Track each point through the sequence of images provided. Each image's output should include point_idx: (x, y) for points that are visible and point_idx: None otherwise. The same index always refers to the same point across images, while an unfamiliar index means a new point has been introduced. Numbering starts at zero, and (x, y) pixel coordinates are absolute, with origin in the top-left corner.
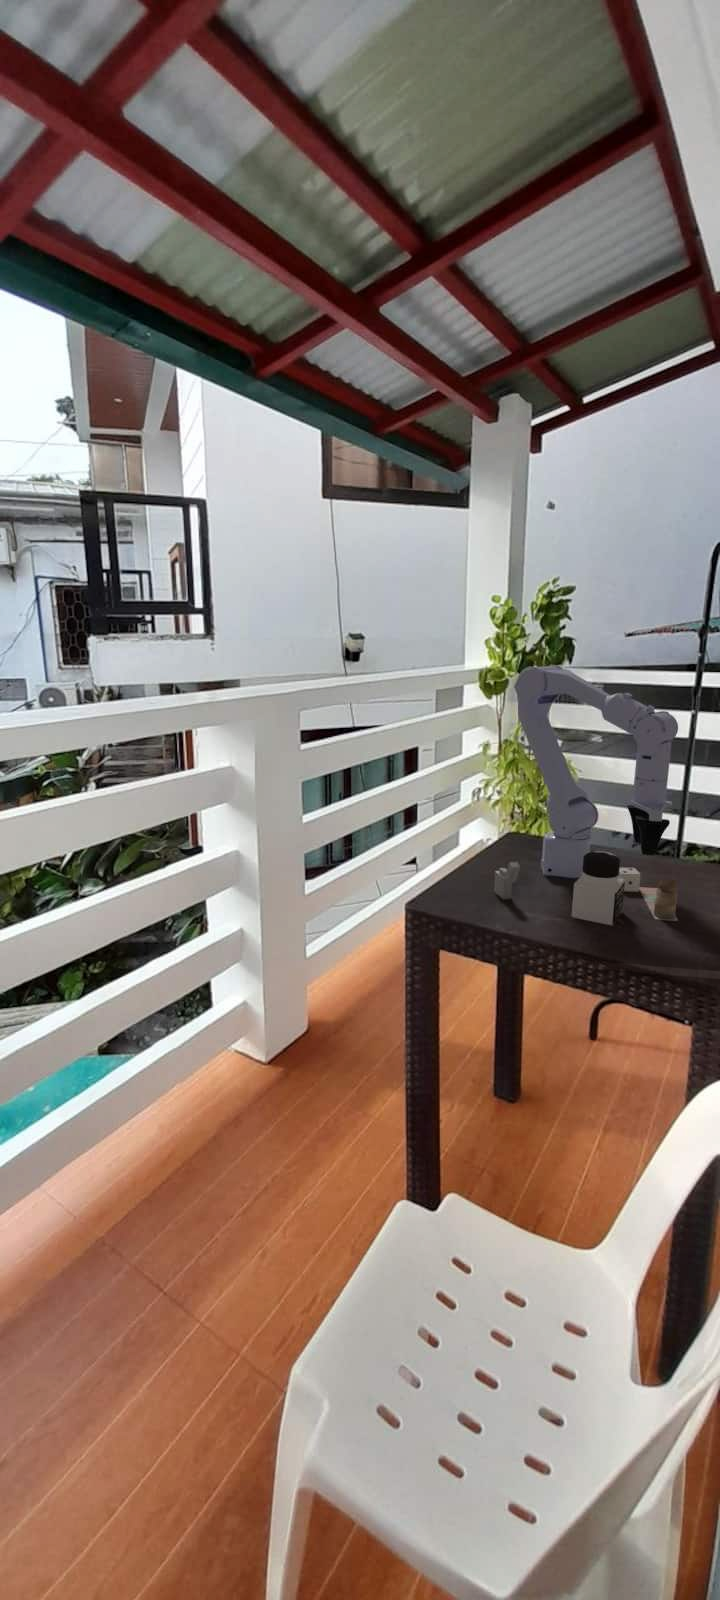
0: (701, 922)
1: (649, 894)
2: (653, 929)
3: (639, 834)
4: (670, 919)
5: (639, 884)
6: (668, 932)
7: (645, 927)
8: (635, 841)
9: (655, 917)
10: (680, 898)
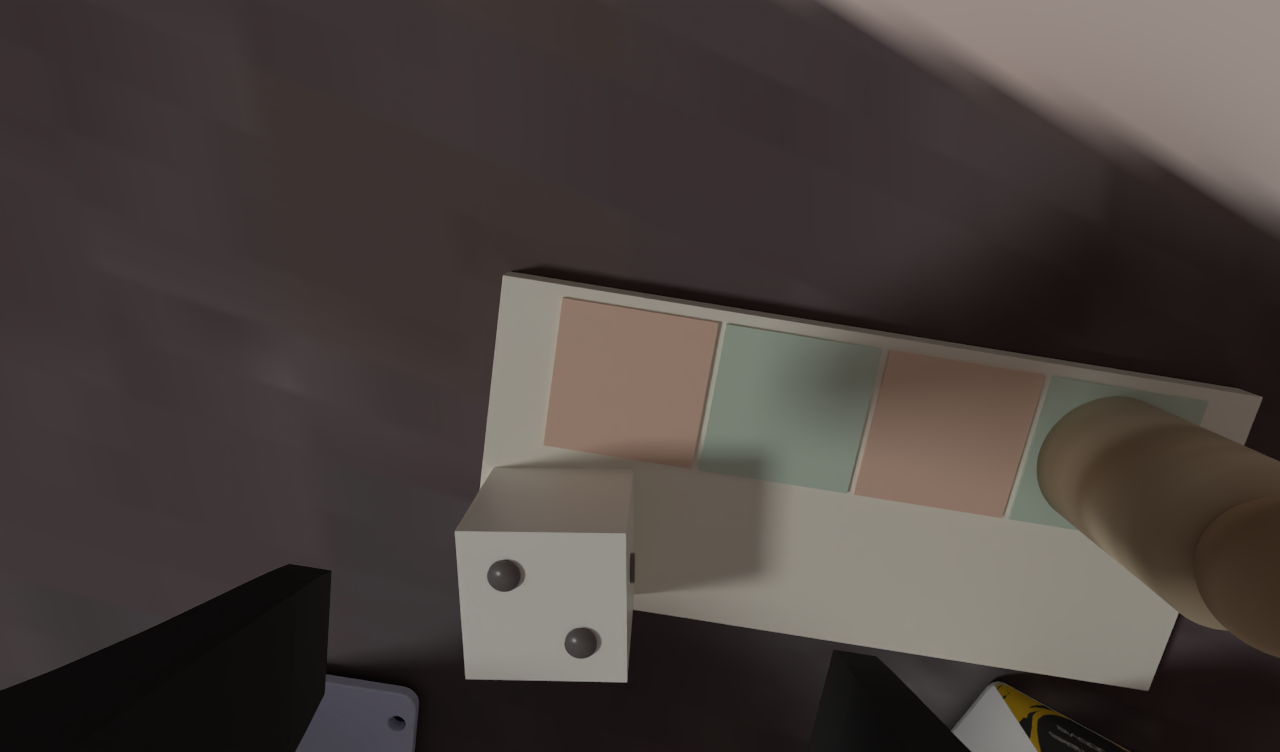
0: (1151, 200)
1: (697, 417)
2: None
3: (262, 739)
4: None
5: (630, 492)
6: None
7: None
8: (319, 702)
9: None
10: (679, 163)
